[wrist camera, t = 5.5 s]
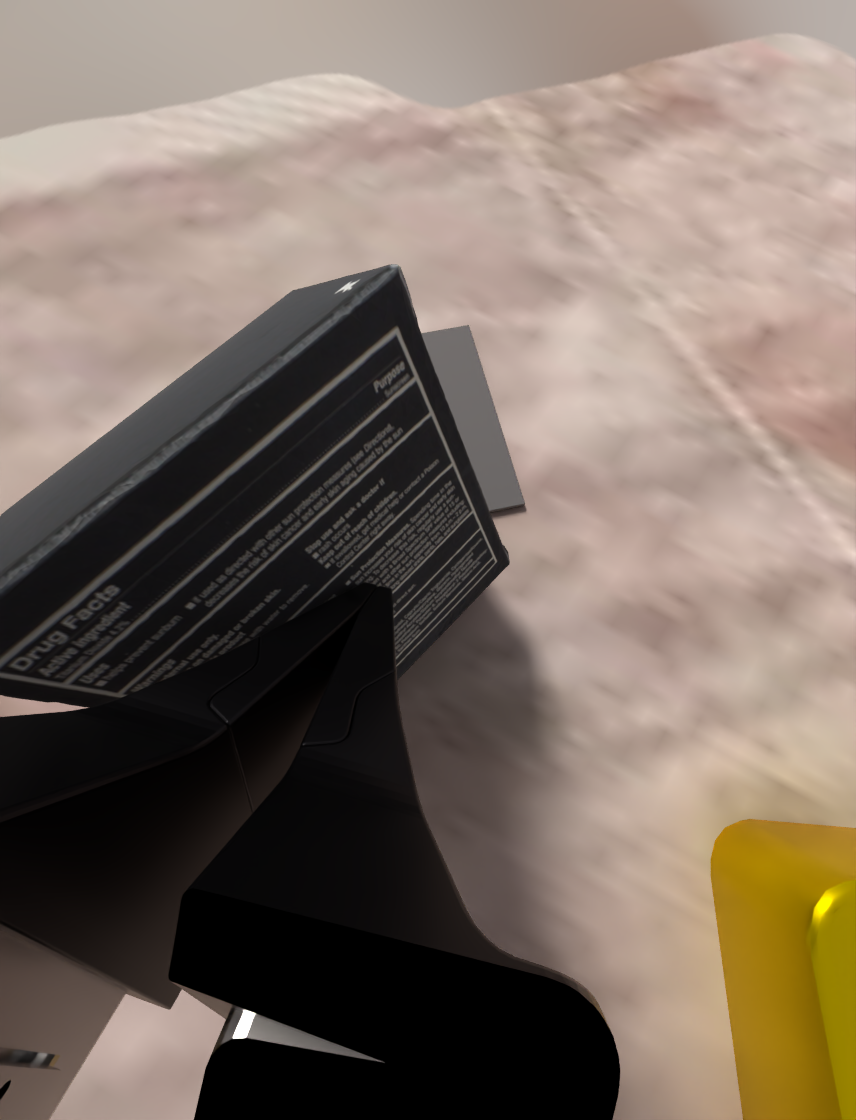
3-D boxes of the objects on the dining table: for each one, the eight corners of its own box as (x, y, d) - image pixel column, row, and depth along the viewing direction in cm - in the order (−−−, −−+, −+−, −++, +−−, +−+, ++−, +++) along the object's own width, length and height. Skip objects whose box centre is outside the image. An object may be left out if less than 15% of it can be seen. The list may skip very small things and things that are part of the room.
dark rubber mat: (523, 505, 18) (525, 503, 18) (235, 563, 17) (232, 561, 17) (468, 329, 21) (468, 325, 21) (226, 372, 21) (223, 368, 20)
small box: (425, 505, 18) (294, 276, 10) (516, 562, 14) (419, 246, 6) (277, 644, 16) (-19, 509, 8) (329, 757, 12) (-164, 702, 4)
